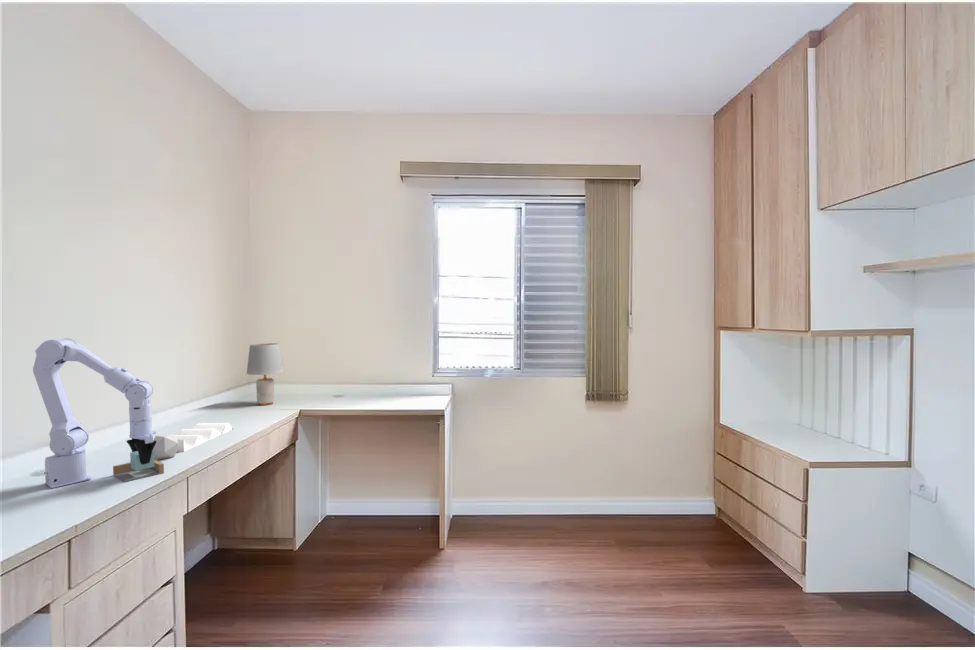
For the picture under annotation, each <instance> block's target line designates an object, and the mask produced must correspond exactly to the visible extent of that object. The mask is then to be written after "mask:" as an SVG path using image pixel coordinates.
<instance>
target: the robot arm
mask: <svg viewBox="0 0 975 650" xmlns="http://www.w3.org/2000/svg"><path fill="white" fill-rule="evenodd" d="M66 362H78V363H80V364H81V365H84V366H86V367H88V368H90V369H91V370H93V371H95V372H96V373H97V374H100V375H102V376H103V379H104V383H106V384H108V385H109V386H111V387H113V388H114V389H116V390H117V391H119V392H120V393H122V394H124V397H125V399H126V400H127V401H128V406H129V407H128V414H129V418H128V419H129V435H128V436H129V439H127V440H126V443H127V444H128V446H129V447H130V450H131V452H135V451H138V453H139V458H140V462H141V464H142V465H143V464H147V463H150V459H151V454H152V451H153V448H154V446H155V444H156V441H155V440H154V436H153V435H156V434H157V431H156V430H153V429H152V428H153V427H152V404H151V402H152V401H151V396H152V395H153V392H154V388H153V386H152V385H151V383H150V382H149V381H147V380H142V378H140V377H136V376H134V374H133V375H132V374H131V373H130V372H128V369H127V368H126V367H123V368H122V367H121V366H118V367H112V366H111V365H110V364H108V363H107V362H106V361H104V360H103V359H102V358H100V357H99V356H98V355H96V354H95V353H93V352H91V351H90V350H89V349H88V348H86V347H85V346H84V345H83V344H82V343H78V342H77V341H75V340H74V339H72V338H62V339H48V340H44V341H43V342H42V343H41V344H40V345H39V346H38V347H37V348H36V349H35V360H34V364H33V367H32V372H33V376H34V378H35V381H36V383H37V386H38V387H37V388H38V389H39V392H40V395H41V397H42V400H43V404H44V406H45V409H46V412H47V415H48V417H49V420H50V423H51V428H50V430H49V433H48V435H49V438H50V442H49V449H50V451H52V453H54V454H53V455H50V456H46V457H45V459H44V472H45V473H44V478H45V479H44V480H45V482H44V484H46V486H48V487H49V488H51V489H55V488H58V487H64V486H68V485H72V484H73V485H74V484H77V483H81V482H85V481H89V480H91V479H92V478H91V477H90V476H89V475H88V474H87V462H86V461H87V459H86V458H87V457H86V456H87V455H86V447H85V445H86V444H87V443H88V441H89V438H90V436H89V433H88V431H87V430H86V429H84V427H83V425H82V423H81V422H79V420H77V419H76V418H75V417H74V414H73V411H72V408H71V404H70V402H69V399H68V396H67V393H66V391H65V388H64V385H63V382H62V379H61V377H60V374H59V370H60V369H61V368H63V365H64V364H65V363H66ZM153 440H154V441H153Z"/></svg>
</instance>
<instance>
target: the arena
mask: <svg viewBox="0 0 975 650" xmlns="http://www.w3.org/2000/svg"><path fill="white" fill-rule="evenodd" d="M154 464H155V467H151V468H147V469H142V470H138V471H136V470H134V469H132V468H131V461H130V462H125V463H121V464H117V465H113V466H112V471H113V473H112V475H113V476H114V477H115V478H117V479H118V480H120V481H122V482H124V483H128V482H132V481H135V480H139V479H140V480H141V479H144V478H149V477H153V476H158V475H162V474H164V473H165V469H164V467H165V466H164V465H165V464H164V463H163V462H160V461H159V460H156V459H154Z"/></svg>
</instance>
